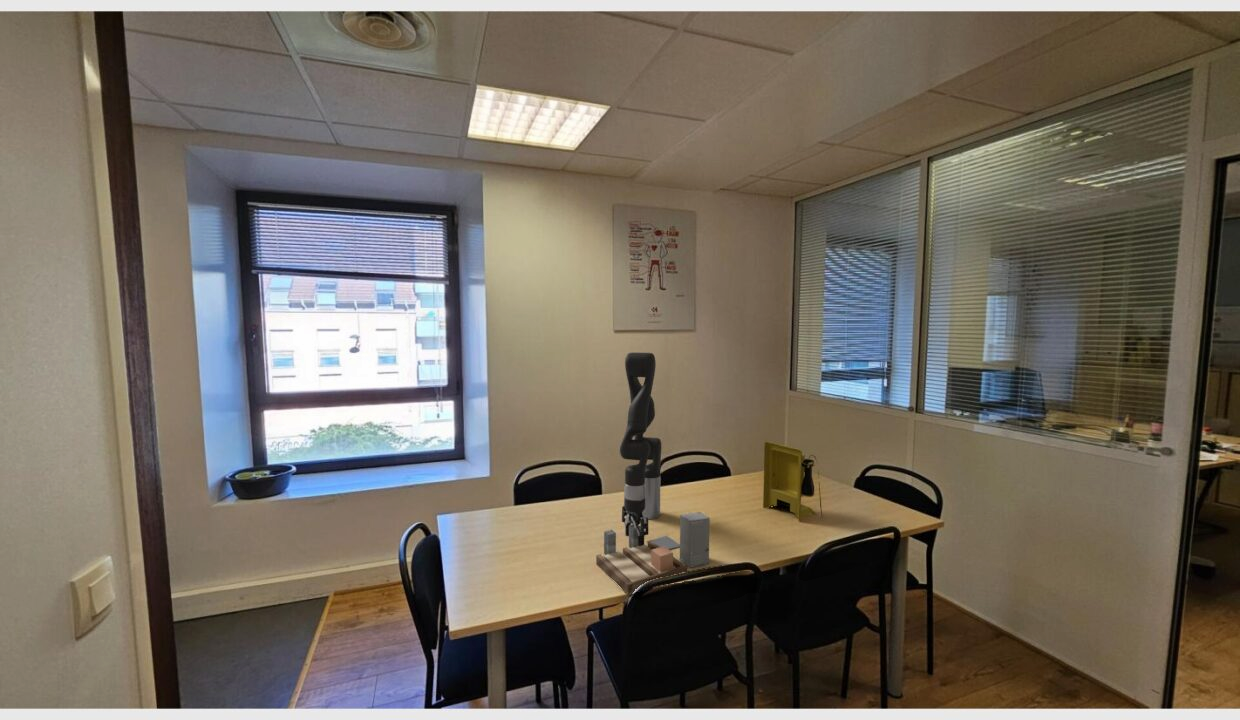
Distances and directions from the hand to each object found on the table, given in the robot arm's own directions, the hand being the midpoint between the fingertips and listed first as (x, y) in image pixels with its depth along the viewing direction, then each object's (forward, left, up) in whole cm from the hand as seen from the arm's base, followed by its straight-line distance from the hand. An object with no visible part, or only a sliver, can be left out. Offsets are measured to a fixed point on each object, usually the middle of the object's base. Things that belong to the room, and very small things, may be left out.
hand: (634, 540), depth 162 cm
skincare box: (+16, +14, -4) cm, 22 cm away
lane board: (+12, -5, -4) cm, 13 cm away
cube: (+17, 0, -2) cm, 17 cm away
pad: (+1, +12, -4) cm, 13 cm away
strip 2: (+10, 0, -3) cm, 10 cm away
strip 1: (+10, -10, -3) cm, 14 cm away
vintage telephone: (+4, +78, -4) cm, 78 cm away
